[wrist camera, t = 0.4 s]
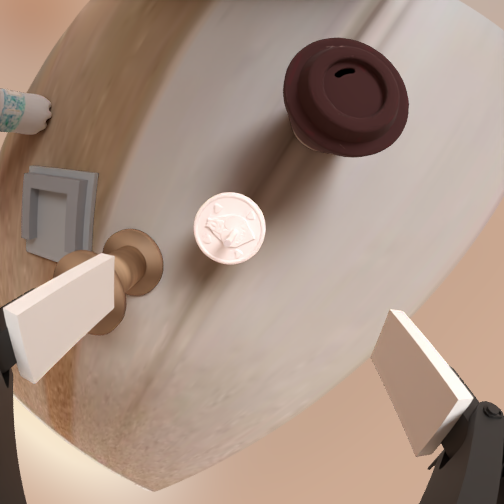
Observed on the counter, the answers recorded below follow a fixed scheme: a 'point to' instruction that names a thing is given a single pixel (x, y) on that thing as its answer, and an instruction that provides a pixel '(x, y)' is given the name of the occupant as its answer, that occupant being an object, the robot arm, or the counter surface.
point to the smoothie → (229, 228)
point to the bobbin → (122, 271)
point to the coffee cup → (345, 98)
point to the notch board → (58, 211)
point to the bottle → (23, 112)
